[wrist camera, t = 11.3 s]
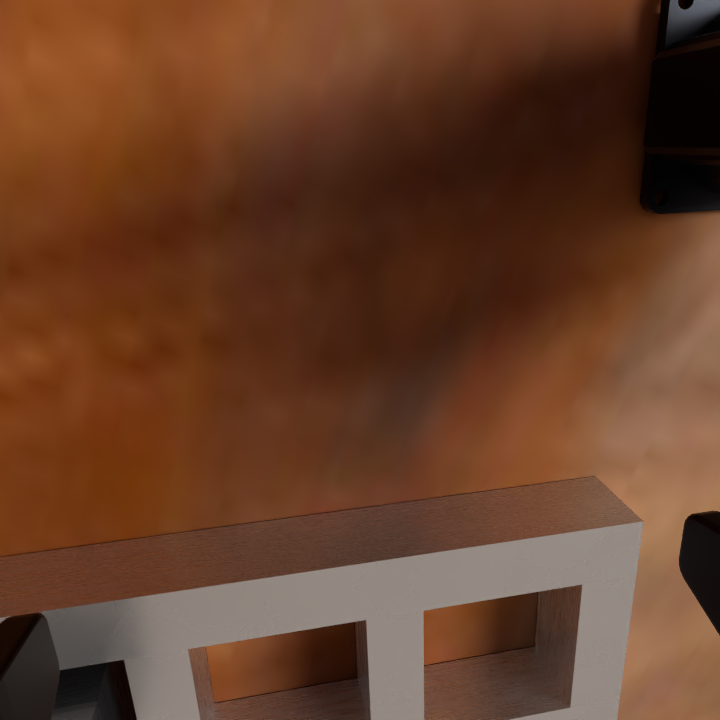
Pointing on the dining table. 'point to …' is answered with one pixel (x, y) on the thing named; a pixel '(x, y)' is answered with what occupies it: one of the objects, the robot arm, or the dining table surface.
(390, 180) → the dining table surface
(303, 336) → the dining table surface
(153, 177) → the dining table surface
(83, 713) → the graphite block
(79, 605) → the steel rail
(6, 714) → the robot arm
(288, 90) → the dining table surface
